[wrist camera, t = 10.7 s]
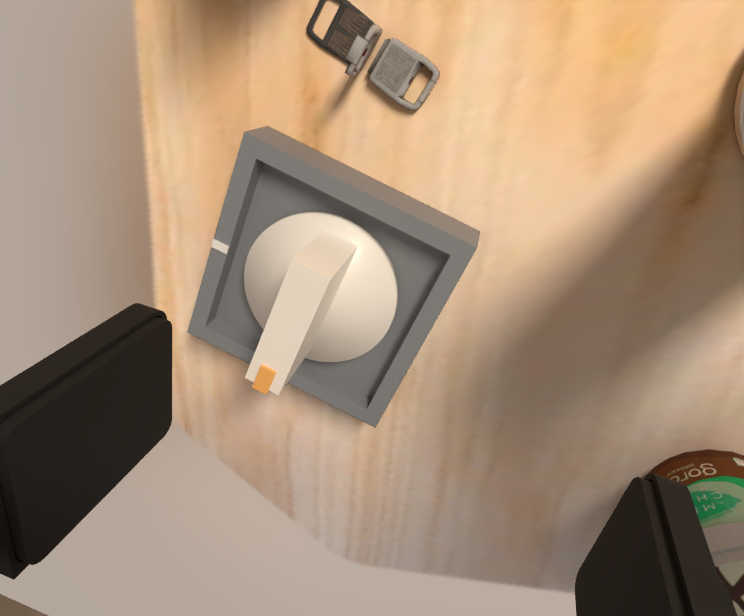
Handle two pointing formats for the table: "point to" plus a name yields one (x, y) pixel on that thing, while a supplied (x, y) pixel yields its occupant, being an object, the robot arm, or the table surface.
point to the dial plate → (362, 205)
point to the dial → (316, 294)
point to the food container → (716, 508)
